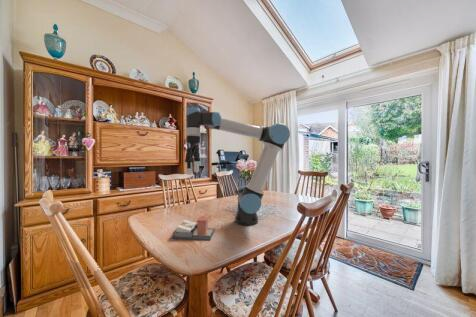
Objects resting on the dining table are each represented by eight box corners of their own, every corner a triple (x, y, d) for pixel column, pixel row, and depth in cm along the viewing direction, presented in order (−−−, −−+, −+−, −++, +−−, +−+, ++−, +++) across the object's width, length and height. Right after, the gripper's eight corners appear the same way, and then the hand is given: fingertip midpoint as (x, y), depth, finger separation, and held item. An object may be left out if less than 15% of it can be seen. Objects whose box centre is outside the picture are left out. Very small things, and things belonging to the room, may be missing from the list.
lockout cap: (208, 230, 111) (208, 217, 111) (206, 234, 106) (206, 220, 106) (199, 230, 112) (199, 217, 111) (196, 233, 107) (196, 220, 106)
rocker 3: (194, 227, 111) (193, 222, 111) (192, 229, 108) (191, 224, 108) (181, 229, 111) (181, 224, 111) (179, 231, 108) (179, 226, 108)
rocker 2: (195, 227, 115) (196, 223, 115) (193, 229, 112) (194, 224, 112) (183, 224, 115) (184, 219, 115) (181, 225, 112) (182, 221, 112)
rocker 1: (190, 232, 107) (191, 228, 107) (189, 235, 104) (190, 230, 104) (178, 229, 107) (179, 224, 107) (176, 231, 104) (177, 226, 104)
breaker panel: (215, 230, 115) (215, 224, 115) (210, 240, 102) (210, 234, 102) (181, 229, 116) (181, 223, 116) (172, 238, 103) (172, 232, 103)
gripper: (193, 137, 126) (193, 171, 127) (178, 133, 101) (178, 175, 102) (204, 137, 125) (204, 171, 126) (193, 133, 101) (193, 175, 101)
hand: (193, 173), depth 114 cm, fingers open, 13 cm apart
